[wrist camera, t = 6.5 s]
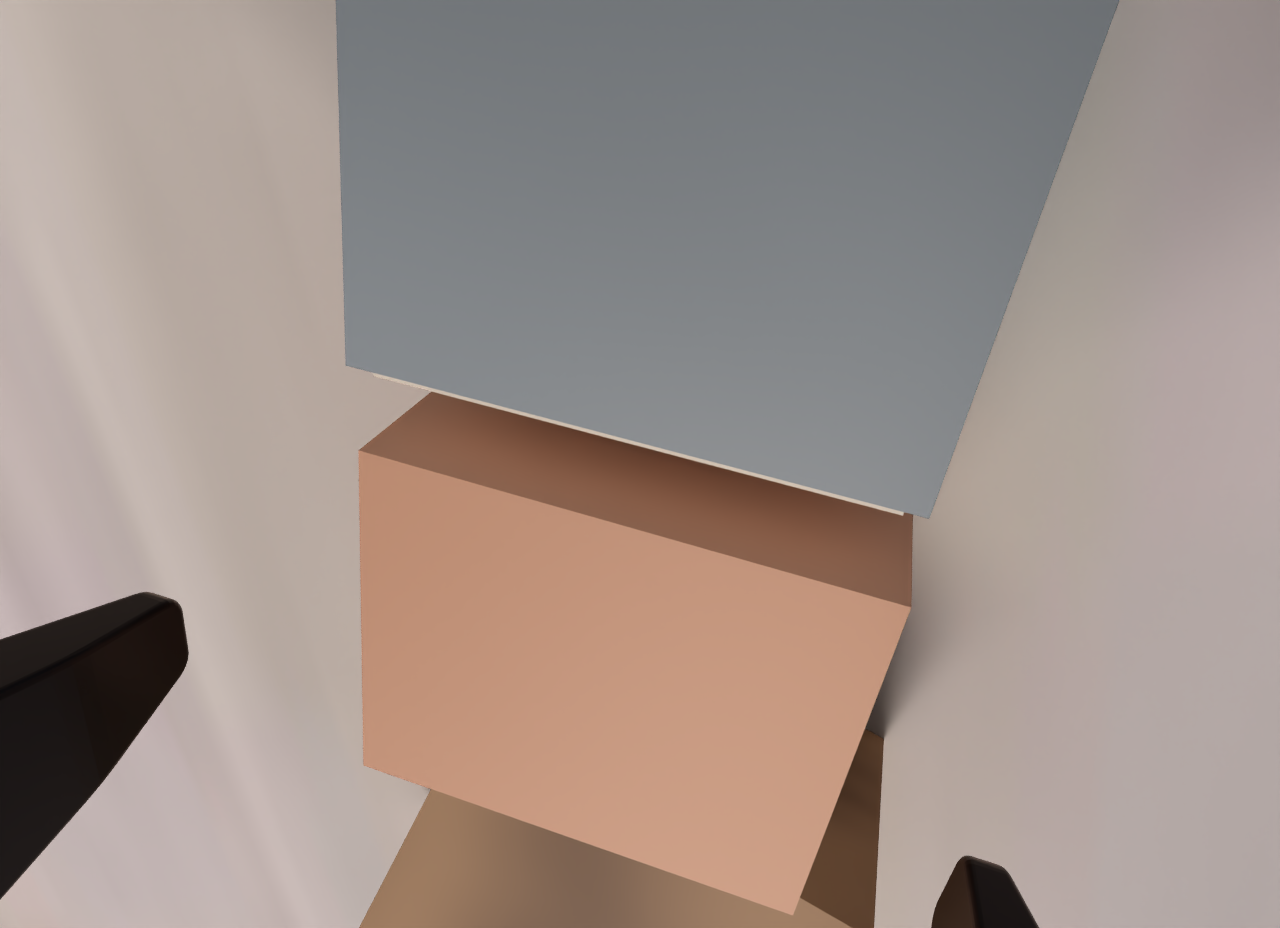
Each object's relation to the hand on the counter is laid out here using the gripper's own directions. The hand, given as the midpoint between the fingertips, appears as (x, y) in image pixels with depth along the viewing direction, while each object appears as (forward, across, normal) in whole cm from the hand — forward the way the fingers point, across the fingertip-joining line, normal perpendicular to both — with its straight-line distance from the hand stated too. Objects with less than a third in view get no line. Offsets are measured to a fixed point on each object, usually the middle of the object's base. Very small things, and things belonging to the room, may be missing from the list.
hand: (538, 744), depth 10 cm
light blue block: (+7, 0, -6) cm, 9 cm away
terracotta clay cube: (+7, 0, 0) cm, 7 cm away
